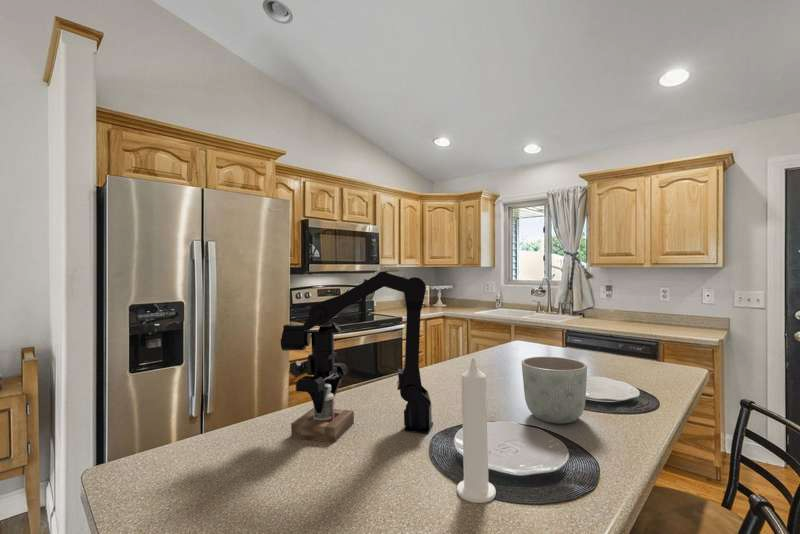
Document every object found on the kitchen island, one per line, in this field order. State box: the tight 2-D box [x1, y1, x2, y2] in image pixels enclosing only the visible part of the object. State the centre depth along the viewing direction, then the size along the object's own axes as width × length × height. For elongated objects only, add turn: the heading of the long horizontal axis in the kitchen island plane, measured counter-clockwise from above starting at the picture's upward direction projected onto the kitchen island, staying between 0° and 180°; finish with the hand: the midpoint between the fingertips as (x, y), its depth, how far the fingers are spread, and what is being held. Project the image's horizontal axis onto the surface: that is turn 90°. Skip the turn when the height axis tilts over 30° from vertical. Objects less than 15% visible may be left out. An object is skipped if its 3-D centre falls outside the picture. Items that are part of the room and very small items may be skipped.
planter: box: [520, 355, 588, 425], centre depth 109 cm, size 17×17×15 cm
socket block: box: [290, 408, 355, 443], centre depth 104 cm, size 12×12×4 cm
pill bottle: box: [312, 384, 335, 423], centre depth 104 cm, size 5×5×10 cm
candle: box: [456, 357, 497, 504], centre depth 73 cm, size 7×7×25 cm
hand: (324, 409), depth 104 cm, fingers closed on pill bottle, 5 cm apart
